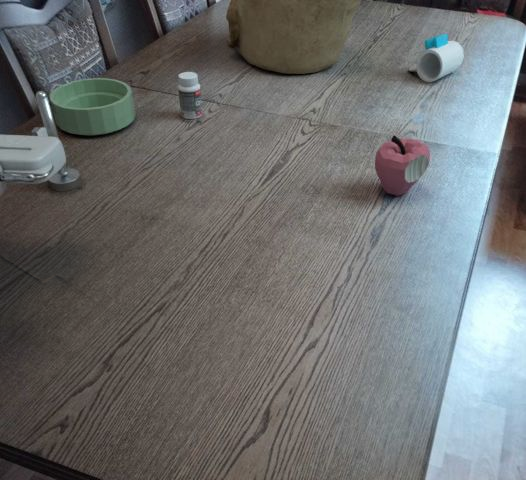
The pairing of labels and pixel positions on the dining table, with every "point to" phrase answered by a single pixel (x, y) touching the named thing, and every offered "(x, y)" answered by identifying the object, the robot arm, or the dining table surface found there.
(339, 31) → the ceramic vessel
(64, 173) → the metal stand
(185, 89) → the pill bottle
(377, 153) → the apple
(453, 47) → the mug
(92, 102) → the bowl
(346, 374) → the dining table surface
